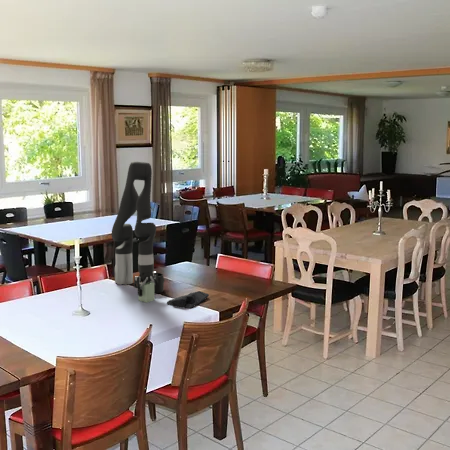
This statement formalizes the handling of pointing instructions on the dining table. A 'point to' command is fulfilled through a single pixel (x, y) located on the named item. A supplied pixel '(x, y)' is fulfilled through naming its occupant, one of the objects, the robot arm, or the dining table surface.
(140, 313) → the dining table surface
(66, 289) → the dining table surface
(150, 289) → the pale green block
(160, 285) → the mug
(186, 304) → the dark slate chunk
